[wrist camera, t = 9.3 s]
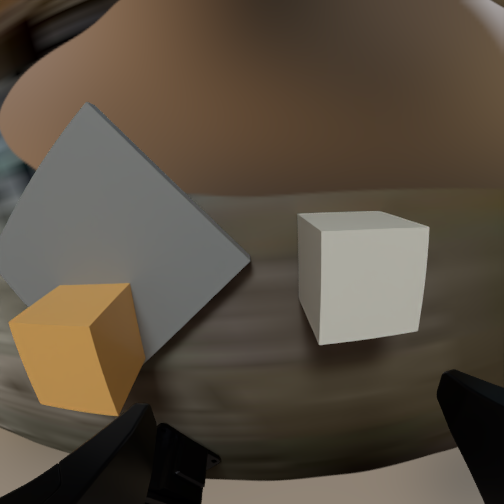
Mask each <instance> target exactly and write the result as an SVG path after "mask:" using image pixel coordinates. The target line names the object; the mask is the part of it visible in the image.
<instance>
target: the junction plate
mask: <svg viewBox="0 0 504 504" xmlns="http://www.w3.org/2000/svg"><path fill="white" fill-rule="evenodd" d="M249 262H250V255H249V254H248V253H247V252H246V251H245V250H244V249H243V248H242V247H241V246H239V245H238V244H237V243H236V242H235V241H234V240H233V239H232V238H231V237H230V236H229V235H228V234H227V233H226V232H225V231H224V230H223V229H222V228H221V227H220V226H219V225H218V224H217V223H216V222H215V221H214V220H213V219H211V218H210V217H209V216H208V215H207V214H206V213H205V212H204V211H203V210H202V209H201V208H200V207H199V206H198V205H197V204H196V203H195V202H194V201H193V200H192V199H191V198H190V197H189V196H188V195H187V194H186V193H185V192H184V191H182V190H181V189H180V188H179V187H178V186H177V185H176V184H175V183H174V182H173V181H172V180H171V179H170V178H169V177H168V176H167V175H166V174H165V173H164V172H163V171H162V170H161V169H160V168H159V167H158V166H157V165H156V164H155V163H153V161H151V160H150V159H149V158H148V157H147V156H146V155H145V154H144V153H143V152H142V151H141V150H140V149H139V148H138V147H137V146H136V145H135V144H134V143H133V142H132V141H131V140H130V139H129V138H128V137H127V136H125V134H123V132H122V131H121V130H120V129H119V128H117V127H116V126H115V125H114V124H113V123H112V122H111V121H110V120H109V119H108V118H107V117H106V116H105V115H104V114H103V113H102V112H101V111H100V110H99V109H98V108H97V107H96V106H95V105H93V104H91V103H88V102H86V103H85V104H84V105H83V107H82V108H81V109H80V110H79V112H78V113H77V114H76V115H75V117H74V118H73V119H72V121H71V122H70V123H69V124H68V126H67V127H66V128H65V130H64V131H63V133H62V134H61V135H60V137H59V138H58V140H57V141H56V142H55V144H54V145H53V147H52V148H51V150H50V151H49V152H48V154H47V156H46V157H45V158H44V160H43V161H42V163H41V164H40V166H39V168H38V169H37V171H36V172H35V174H34V175H33V177H32V179H31V180H30V182H29V184H28V185H27V187H26V189H25V190H24V192H23V194H22V196H21V197H20V199H19V201H18V203H17V205H16V206H15V208H14V210H13V212H12V214H11V216H10V218H9V220H8V222H7V224H6V226H5V228H4V230H3V232H2V234H1V236H0V275H1V276H2V277H3V278H4V280H5V281H6V282H7V283H8V284H9V286H10V287H11V288H12V289H13V290H14V292H15V293H16V294H17V295H18V296H19V297H20V299H21V300H22V301H23V302H24V303H25V304H26V305H27V306H28V307H30V306H31V305H32V304H34V303H35V302H37V301H38V300H39V299H41V298H42V297H44V296H45V295H46V294H48V293H49V292H51V291H52V290H54V289H55V288H57V287H58V286H59V285H88V284H118V283H130V286H131V292H132V297H133V303H134V308H135V313H136V318H137V323H138V327H139V332H140V336H141V341H142V345H143V350H144V354H145V358H146V359H145V361H144V363H145V362H146V361H147V360H148V359H149V358H150V357H152V356H153V355H154V354H155V353H156V352H157V351H158V350H159V349H160V348H161V347H162V346H163V345H164V344H165V343H166V342H167V341H168V340H169V339H170V338H171V337H172V336H173V335H174V334H175V333H176V332H178V331H179V330H180V329H181V328H182V327H183V326H184V325H185V324H186V323H187V322H188V321H189V320H190V319H191V318H192V317H193V316H194V315H195V314H196V313H197V312H198V311H199V310H200V309H201V308H202V307H203V306H204V305H205V304H207V303H208V302H209V301H210V300H211V299H212V298H213V297H214V296H215V295H216V294H217V293H218V292H219V291H220V290H221V289H222V288H223V287H224V286H225V285H226V284H227V283H228V282H229V281H230V280H231V279H232V278H233V277H234V276H235V275H236V274H237V273H239V272H240V271H241V270H242V269H243V268H244V267H245V266H246V265H247V264H248V263H249ZM144 363H143V364H144Z"/></svg>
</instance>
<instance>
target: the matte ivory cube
mask: <svg viewBox="0 0 504 504" xmlns="http://www.w3.org/2000/svg"><path fill="white" fill-rule="evenodd" d="M297 223H298V282H299V300H300V303H301V305H302V307H303V309H304V312H305V314H306V316H307V319H308V321H309V323H310V325H311V328H312V330H313V332H314V335H315V337H316V339H317V342H318V344H319V345H325V344H334V343H342V342H350V341H358V340H365V339H372V338H379V337H385V336H391V335H398V334H403V333H409V332H415V331H418V326H419V320H420V314H421V307H422V300H423V293H424V285H425V276H426V266H427V255H428V241H429V227H428V226H425V225H422V224H419V223H416V222H412V221H409V220H406V219H403V218H400V217H397V216H394V215H391V214H387V213H384V212H381V211H363V212H329V213H303V214H297Z"/></svg>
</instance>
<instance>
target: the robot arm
mask: <svg viewBox="0 0 504 504" xmlns="http://www.w3.org/2000/svg"><path fill="white" fill-rule="evenodd" d="M437 399H438V402H439V404H440V406H441V409H442V411H443V414H444V416H445V419H446V422H447V424H448V427H449V429H450V432H451V434H452V436H453V438H454V440H455V442H456V444H457V446H458V448H459V450H460V452H461V454H462V456H463V458H464V460H465V462H466V464H467V466H468V468H469V470H470V472H471V474H472V476H473V479H474V481H475V483H476V485H477V487H478V489H479V492H480V494H481V496H482V498H483V501H484V503H485V504H504V388H503V387H500V386H497V385H494V384H492V383H489V382H486V381H484V380H481V379H478V378H476V377H473V376H471V375H468V374H465V373H463V372H460V371H458V370H455V369H453V370H449V371H446V372H444V373H443V374H442V376H441V380H440V383H439V386H438V389H437ZM218 463H220V457H219V456H218V455H216V454H214V453H212V452H211V451H209V450H207V449H205V448H204V447H202V446H200V445H199V444H197V443H195V442H194V441H192V440H190V439H189V438H187V437H186V436H184V435H182V434H181V433H179V432H178V431H176V430H175V429H173V428H172V427H170V426H169V425H167V424H164V423H161V424H159V425H158V426H157V424H156V421H155V418H154V415H153V411H152V408H151V406H150V405H149V404H146V403H136V404H134V405H133V406H132V407H130V408H129V409H128V410H127V411H125V412H124V413H123V414H121V415H120V416H119V417H118V418H116V419H115V420H114V421H113V422H111V423H110V424H109V425H107V426H106V427H105V428H104V429H102V430H101V431H100V432H98V433H97V434H96V435H94V436H93V437H92V438H91V439H89V440H88V441H87V442H85V443H84V444H83V445H81V446H80V447H79V448H77V449H76V450H75V451H73V452H72V453H71V454H69V455H68V456H67V457H65V458H64V459H63V460H61V461H60V462H59V464H56V465H54V466H53V467H52V468H50V469H49V470H47V471H46V472H44V473H43V474H41V475H40V476H38V477H37V478H35V479H34V480H32V481H30V482H28V483H27V484H25V485H23V486H21V487H19V488H18V489H16V490H14V491H12V492H10V493H8V494H6V495H4V496H2V497H0V504H201V502H202V492H203V487H204V486H205V477H206V470H208V469H209V468H211V467H213V466H215V465H217V464H218Z"/></svg>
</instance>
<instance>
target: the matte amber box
mask: <svg viewBox="0 0 504 504" xmlns="http://www.w3.org/2000/svg"><path fill="white" fill-rule="evenodd" d="M9 326H10V329H11V332H12V335H13V338H14V341H15V343H16V346H17V349H18V352H19V354H20V357H21V360H22V362H23V365H24V367H25V370H26V372H27V374H28V377H29V379H30V382H31V384H32V386H33V388H34V391H35V393H36V395H37V397H38V399H39V401H40V403H41V404H43V405H48V406H53V407H58V408H63V409H69V410H75V411H81V412H88V413H95V414H103V415H111V416H119V414H120V412H121V410H122V408H123V405H124V403H125V401H126V399H127V397H128V395H129V392H130V390H131V388H132V386H133V384H134V382H135V380H136V377H137V375H138V373H139V371H140V369H141V367H142V365H143V363H144V361H145V359H146V358H145V354H144V350H143V345H142V341H141V336H140V332H139V327H138V323H137V318H136V313H135V308H134V303H133V297H132V292H131V286H130V283H118V284H88V285H59V286H58V287H57V288H55V289H54V290H52V291H51V292H49V293H48V294H46V295H45V296H44V297H42V298H41V299H39V300H38V301H37V302H35V303H34V304H32V305H31V306H30V307H28V308H27V309H26V310H24V311H23V312H22V313H20V314H19V315H17V316H16V317H15V318H13V319H12V320H11V321H9Z"/></svg>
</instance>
